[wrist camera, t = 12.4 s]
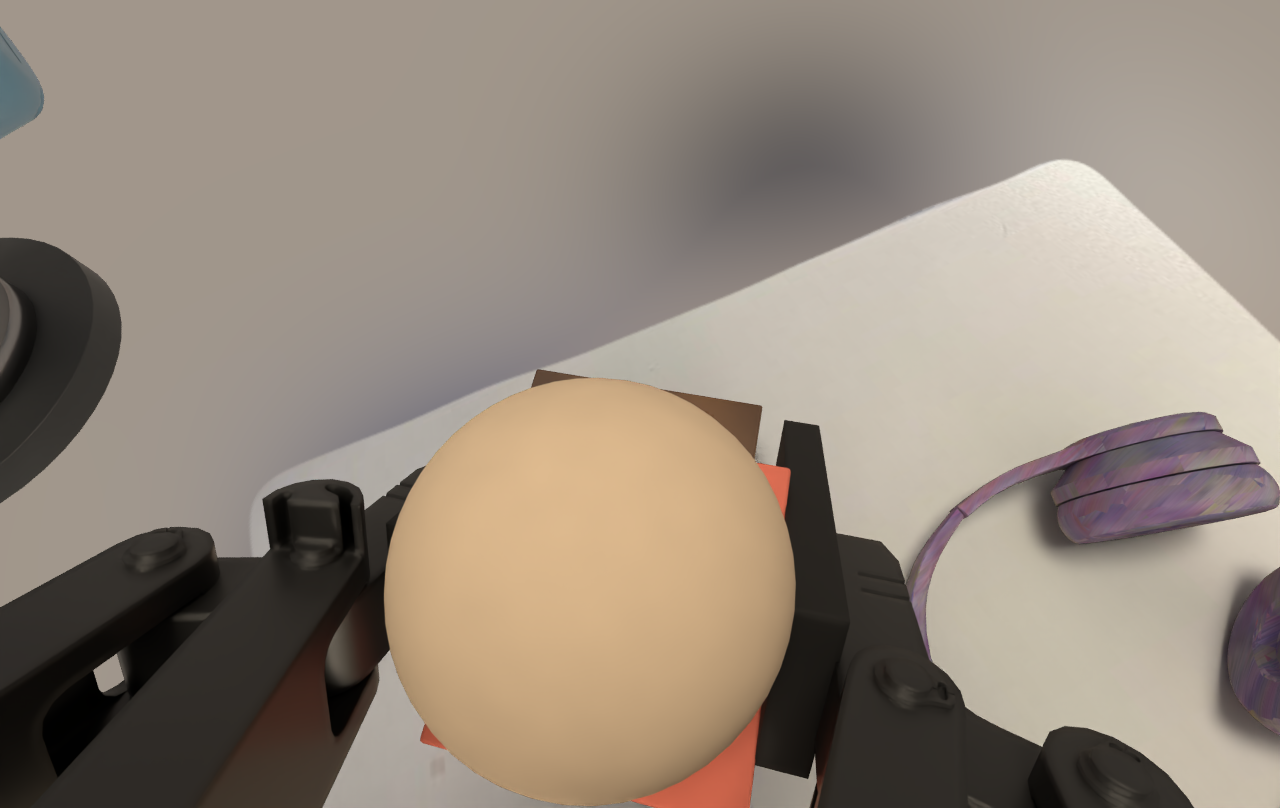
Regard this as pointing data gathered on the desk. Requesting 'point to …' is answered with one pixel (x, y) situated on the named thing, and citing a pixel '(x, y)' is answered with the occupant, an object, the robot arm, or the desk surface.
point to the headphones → (1153, 520)
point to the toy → (594, 597)
